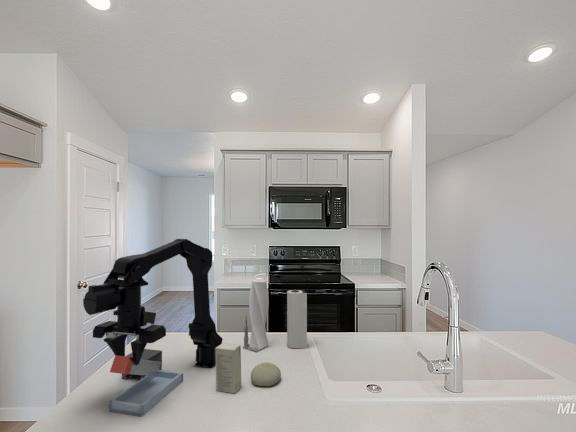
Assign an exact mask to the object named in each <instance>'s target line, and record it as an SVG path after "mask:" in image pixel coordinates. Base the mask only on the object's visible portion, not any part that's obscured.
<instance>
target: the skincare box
mask: <svg viewBox="0 0 576 432" xmlns="http://www.w3.org/2000/svg"><path fill="white" fill-rule="evenodd" d="M241 349H242V347H241V344H235V343H224V342H222V344H221V345H219V346H218V347H216V348H215V351H216V364H215V390H216V391H218V392H225V393H230V394H235V393H237V392H238V390H240V389H241V388H242V355H241V354H242V353H241V352H242V351H241Z"/></svg>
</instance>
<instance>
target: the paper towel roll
mask: <svg viewBox="0 0 576 432" xmlns="http://www.w3.org/2000/svg"><path fill="white" fill-rule="evenodd" d="M286 293H287V295H286V300H287V301H286V303H287V304H286V305H287V306H286V307H287V308H286V310H287V311H286V313H287V314H286V315H287V316H286V332H287V333H286V335H287V336H286V337H287V338H286V339H287V340H286V345H287V347H288V348H289V349H290V348H291V349H307V348H308V345H307V344H308V335H307V334H308V330H307V329H308V314H307V313H308V309H307V308H308V306H307V305H308V303H307V302H308V295H307V294H308V293H307V292H303V291H302V290H299V289H292V290H287V291H286Z"/></svg>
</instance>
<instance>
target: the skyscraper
mask: <svg viewBox="0 0 576 432" xmlns="http://www.w3.org/2000/svg"><path fill="white" fill-rule="evenodd" d="M258 276H264V279H263V277H258ZM269 301H270V300H269V289H268V283H267V273H257V274H256V275H254V276H253V277H252V279H251V284H250V290H249V301H248V302H249V303H248V305H249V306H248V307H249V309H248V310H249V318H250V322H251V323H250V324H251V327H252V328H251V333H250V341H249V335H248V334H249V325H248V319H247V318H248V315H247V314H245V321H244V323H245V325H244V326H243V327H244V329H243V330H244V336H243V347H242V349H244V350H247V351H251V352H254V353H258V352H260V351H262V350H264V349H267V348H269V342H268V341H269V340H268V335H267V330H266V323H267V318H268V312H269V305H270V303H269Z"/></svg>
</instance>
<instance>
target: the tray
mask: <svg viewBox="0 0 576 432" xmlns="http://www.w3.org/2000/svg"><path fill="white" fill-rule="evenodd" d="M183 382H184V372H178V371H170V370H163V369H162V370H159V371H158V375H157V376H149V375H147V376H145V377H144V378H142V379H141V378H140V379H139V380H138V381H136V382H135V383H134V384H132V385H131V386H129V387H128V388H126V389H125V390H123V391H122V392H121V393H119V394H118V395H116V396H115V397H113V398H112V399H110V400H109V401H108V412H111V413H118V414H123V415H128V416H135V417H143V416H144V415H145V414H146V413H148V412H149V411H150V410H151V409H152V408H154V407H155V406H156V405H157V404H159V402H161V401H162V399H164V398H165V397H166V396H168V395H169V394H170V393H171V392H172V391H174V389H176V388H177V387H178V386H179V385H181V384H182V383H183Z"/></svg>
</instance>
